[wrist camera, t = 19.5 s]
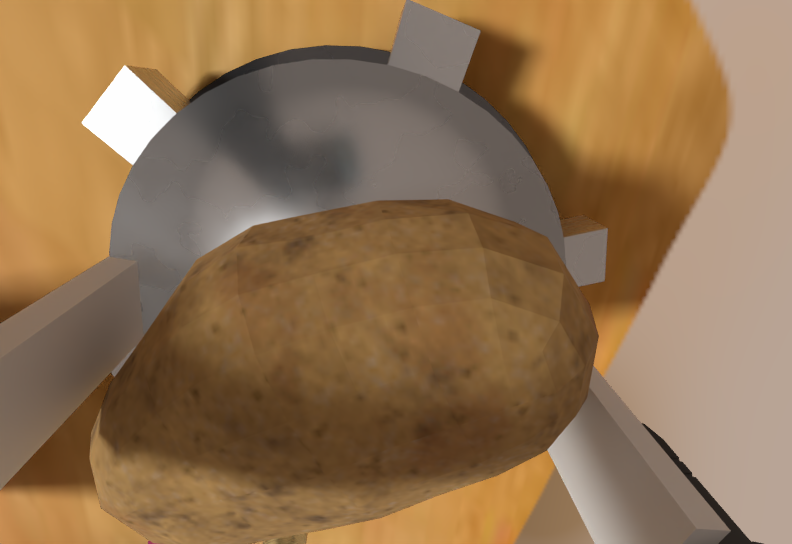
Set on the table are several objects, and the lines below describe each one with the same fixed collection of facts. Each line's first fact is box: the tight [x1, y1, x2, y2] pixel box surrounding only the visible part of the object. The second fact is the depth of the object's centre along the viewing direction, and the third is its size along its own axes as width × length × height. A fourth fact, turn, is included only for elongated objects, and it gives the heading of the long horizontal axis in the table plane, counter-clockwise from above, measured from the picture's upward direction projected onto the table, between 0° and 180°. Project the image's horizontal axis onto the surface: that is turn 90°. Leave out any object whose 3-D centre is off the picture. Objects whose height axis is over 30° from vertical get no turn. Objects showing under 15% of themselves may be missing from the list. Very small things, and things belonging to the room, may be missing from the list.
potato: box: [89, 199, 599, 544], centre depth 11 cm, size 10×14×8 cm
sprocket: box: [82, 0, 608, 544], centre depth 14 cm, size 21×20×7 cm
